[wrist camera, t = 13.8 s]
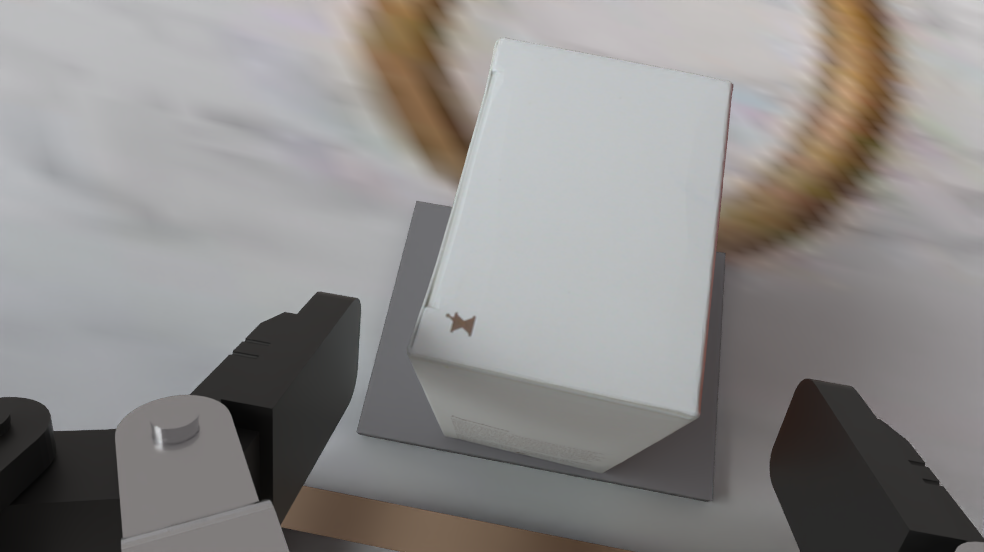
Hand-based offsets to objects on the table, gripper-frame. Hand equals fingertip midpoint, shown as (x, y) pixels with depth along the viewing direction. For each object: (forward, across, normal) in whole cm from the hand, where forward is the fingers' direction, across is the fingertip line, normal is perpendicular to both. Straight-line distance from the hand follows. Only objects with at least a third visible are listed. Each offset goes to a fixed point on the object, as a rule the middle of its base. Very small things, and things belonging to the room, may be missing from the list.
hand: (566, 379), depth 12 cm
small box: (+10, 0, +5) cm, 11 cm away
